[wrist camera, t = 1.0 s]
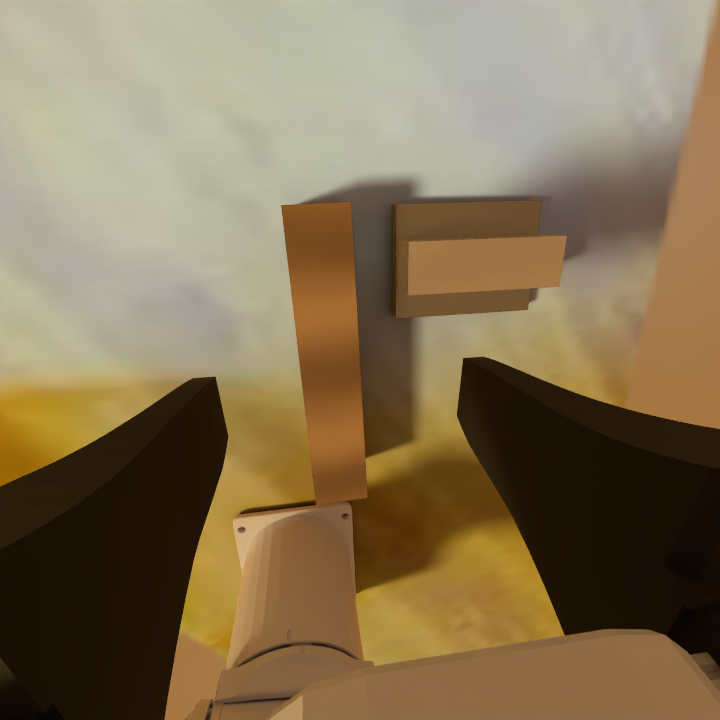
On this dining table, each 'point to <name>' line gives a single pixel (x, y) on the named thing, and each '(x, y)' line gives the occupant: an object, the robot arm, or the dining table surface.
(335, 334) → the walnut bar
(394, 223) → the ridge
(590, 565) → the robot arm
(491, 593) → the dining table surface
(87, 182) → the dining table surface
